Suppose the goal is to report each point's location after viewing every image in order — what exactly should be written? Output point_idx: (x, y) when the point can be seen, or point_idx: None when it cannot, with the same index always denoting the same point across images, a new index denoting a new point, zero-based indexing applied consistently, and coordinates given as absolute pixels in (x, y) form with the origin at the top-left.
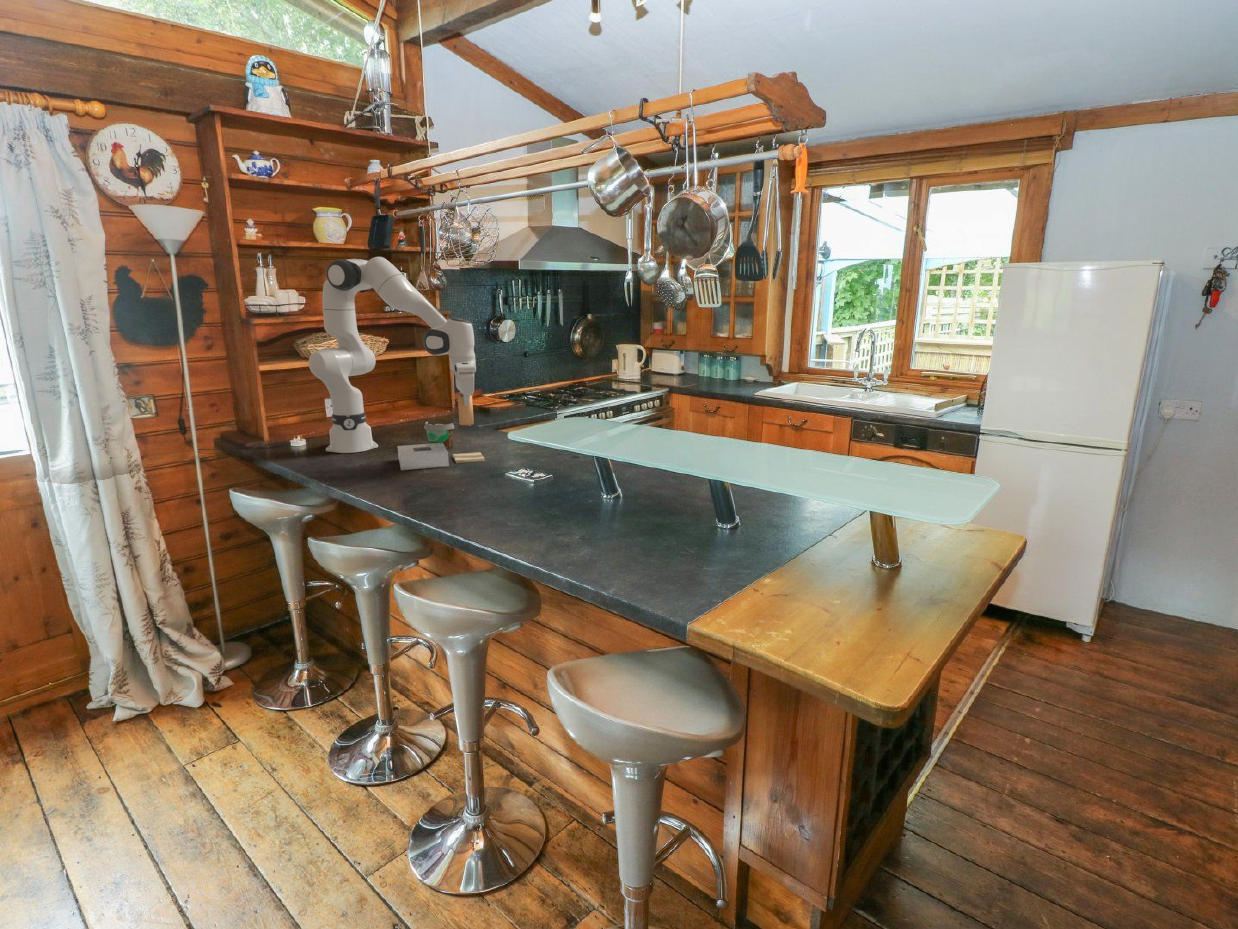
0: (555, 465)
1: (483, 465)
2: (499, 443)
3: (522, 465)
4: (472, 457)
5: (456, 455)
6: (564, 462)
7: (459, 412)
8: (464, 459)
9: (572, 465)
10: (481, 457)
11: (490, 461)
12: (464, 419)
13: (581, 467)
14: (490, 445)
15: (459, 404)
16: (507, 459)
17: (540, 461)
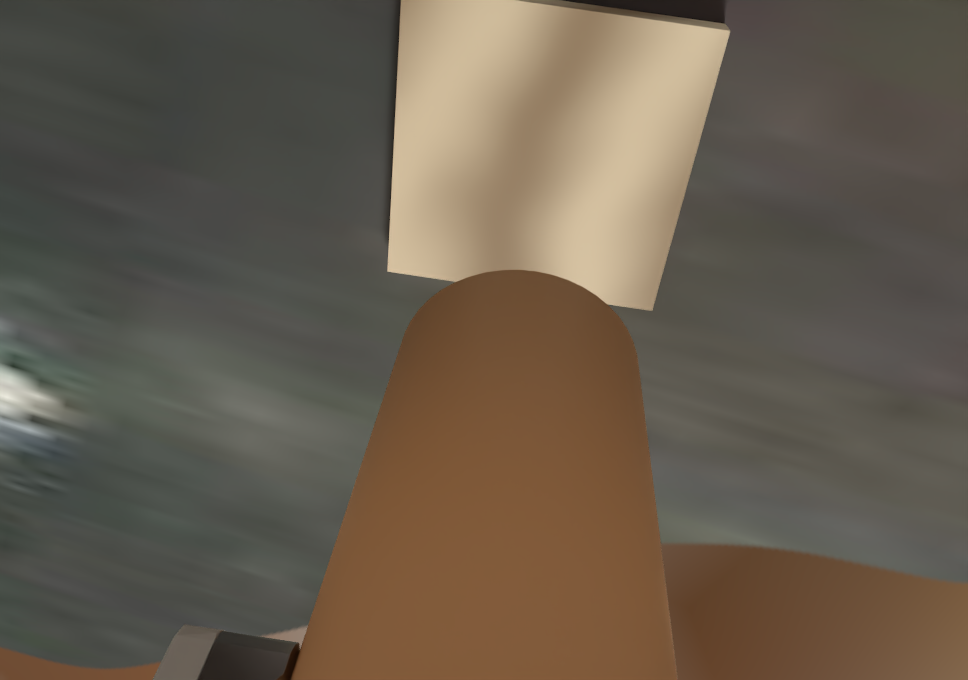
0: (103, 573)
1: (233, 200)
2: (948, 539)
3: (151, 436)
4: (464, 182)
5: (643, 53)
6: (164, 627)
7: (464, 415)
8: (415, 84)
9: (84, 629)
10: (425, 255)
11: (355, 292)
12: (389, 379)
13: (30, 641)
14: (937, 467)
15: (405, 580)
16: (368, 416)
17: (229, 550)
